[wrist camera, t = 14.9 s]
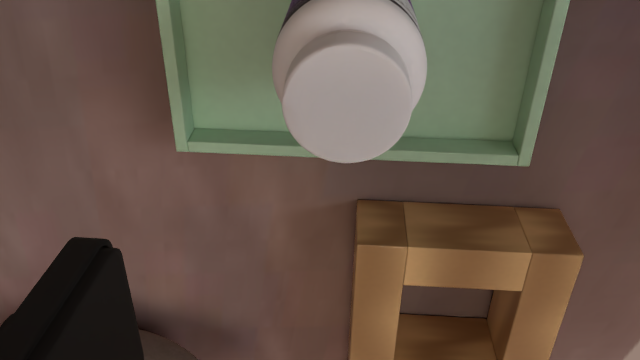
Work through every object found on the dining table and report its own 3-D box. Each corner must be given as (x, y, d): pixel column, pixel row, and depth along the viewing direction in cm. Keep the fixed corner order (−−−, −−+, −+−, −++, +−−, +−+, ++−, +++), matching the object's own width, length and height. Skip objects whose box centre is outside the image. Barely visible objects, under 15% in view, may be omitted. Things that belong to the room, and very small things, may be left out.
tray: (589, -154, 22) (608, -153, 20) (519, 147, 29) (529, 167, 27) (149, -162, 22) (132, -161, 21) (186, 133, 29) (175, 151, 28)
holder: (560, 208, 30) (585, 256, 27) (495, 428, 41) (507, 482, 37) (357, 199, 31) (356, 244, 28) (343, 419, 41) (342, 471, 38)
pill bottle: (282, 60, 26) (247, 166, 18) (301, -60, 24) (269, 0, 15) (395, 83, 27) (409, 197, 18) (427, -34, 24) (461, 39, 16)
